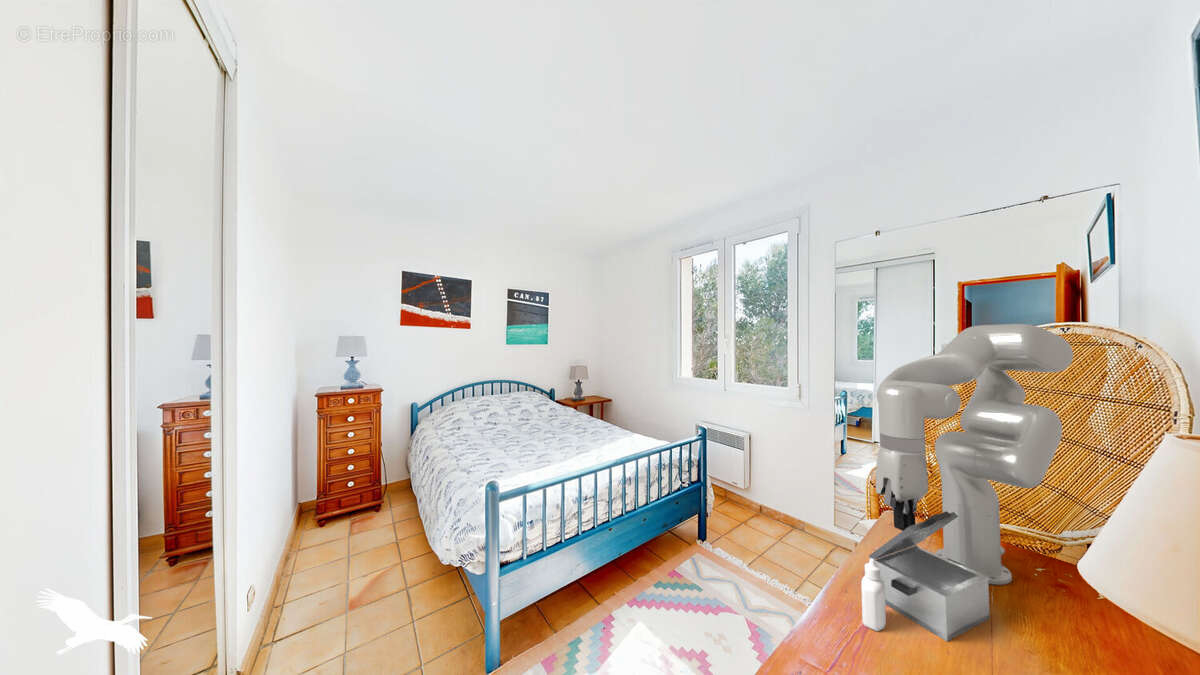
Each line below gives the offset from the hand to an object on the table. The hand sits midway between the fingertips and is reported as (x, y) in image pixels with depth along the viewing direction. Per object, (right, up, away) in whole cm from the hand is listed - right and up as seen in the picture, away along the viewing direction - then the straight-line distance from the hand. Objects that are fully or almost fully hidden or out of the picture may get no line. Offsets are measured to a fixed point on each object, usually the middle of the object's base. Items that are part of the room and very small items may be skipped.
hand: (904, 529), depth 78 cm
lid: (+1, 0, -2) cm, 3 cm away
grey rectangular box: (+2, -14, -4) cm, 14 cm away
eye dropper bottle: (-12, -14, -7) cm, 20 cm away
